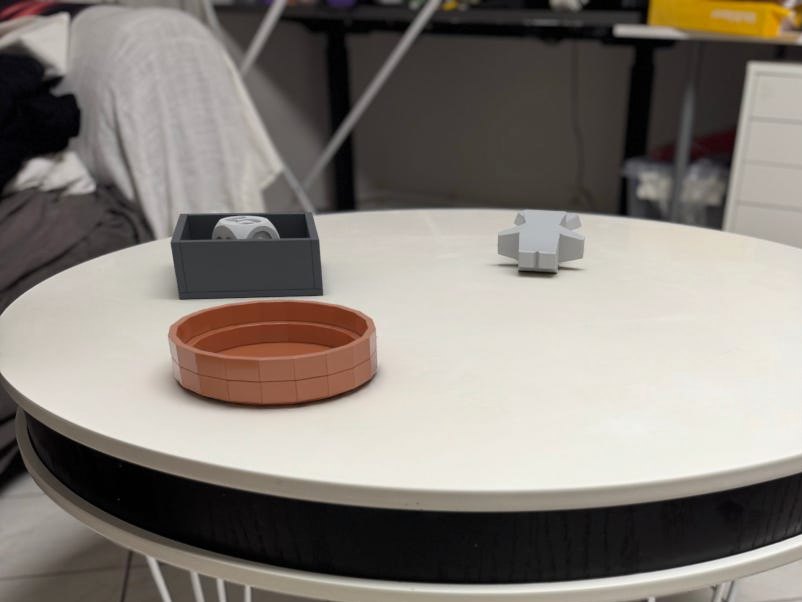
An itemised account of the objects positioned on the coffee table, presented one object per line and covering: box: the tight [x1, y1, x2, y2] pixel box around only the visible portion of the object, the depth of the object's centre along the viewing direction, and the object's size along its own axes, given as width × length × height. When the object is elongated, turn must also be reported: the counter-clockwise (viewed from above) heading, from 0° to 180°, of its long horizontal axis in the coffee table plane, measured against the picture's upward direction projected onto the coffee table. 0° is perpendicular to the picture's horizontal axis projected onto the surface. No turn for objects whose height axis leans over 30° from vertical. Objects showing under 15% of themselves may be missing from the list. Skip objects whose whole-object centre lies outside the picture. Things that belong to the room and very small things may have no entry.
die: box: [212, 216, 280, 240], centre depth 91 cm, size 5×5×5 cm
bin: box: [170, 211, 324, 300], centre depth 92 cm, size 14×14×5 cm
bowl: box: [167, 299, 379, 406], centre depth 69 cm, size 15×15×4 cm
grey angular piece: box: [497, 209, 586, 274], centre depth 101 cm, size 10×5×15 cm
